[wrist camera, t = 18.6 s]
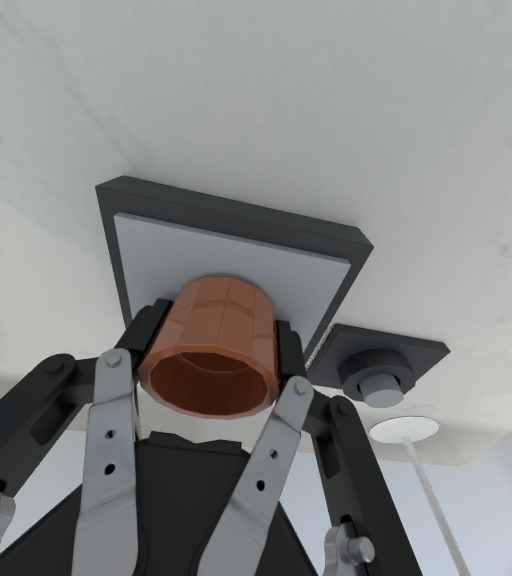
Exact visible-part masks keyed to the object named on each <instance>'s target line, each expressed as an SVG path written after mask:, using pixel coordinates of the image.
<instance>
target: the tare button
mask: <svg viewBox="0 0 512 576" xmlns="http://www.w3.org/2000/svg"><path fill="white" fill-rule="evenodd" d="M359 386H360V389H361V392H362V395H363V398H364V401H365V403H366V404H367V405H368V406H371V407H375V408H385V407H390V406H393V405H396V404H398V403H399V402H401V401H402V400H403V397H404V395H403V393H402V391H401V389H400V387H399V385H398V383H397V381H396V379H395V377H394V376H393V375H389V374H377V375H372V376H369V377H367V378H365V379H362V380H361V381H360V382H359Z"/></svg>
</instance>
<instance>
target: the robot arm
mask: <svg viewBox="0 0 512 576" xmlns="http://www.w3.org/2000/svg"><path fill="white" fill-rule="evenodd" d="M171 303H172V300H168V299H163V298H158V299H157V300H156V301H155V303H154V305H153V306H150V305H146V306H145V307H143V308H142V309H140V310H139V311H138V313H137V314H136V316H135V317H134V319H133V320H132V322H131V323H130V325H129V326H128V328H127V329H126V331H125V332H124V334H123V335H122V337H121V338H120V340H119V341H118V343H117V344H116V346H115V347H114V348H113V349H110V350H108V351H106V352H104V353H103V354H102V355H101V356H100V357H96V358H90V359H82V360H75V358H74V357H73V356H72V355H70V354H56V355H53V356H50V357H48V358H46V359H44V360H43V361H42V362H40V363H39V364H38V365H37V366H36V367H35V368H34V369H33V370H32V371H31V372H29V373H28V374H27V375H26V376H25V377H24V378H23V379H22V380H21V381H20V382H19V383H17V384H16V385H15V386H14V387H13V388H12V389H11V390H10V391H9V392H8V393H7V394H6V395H4V396H3V397H2V398H1V399H0V542H1V539H2V537H3V535H4V532H5V531H6V529H7V527H8V525H9V524H10V523H11V521H12V518H13V516H14V513H15V508H16V507H15V506H16V505H15V501H14V499H13V498H14V496H15V495H16V494H17V492H18V491H19V490H20V488H21V487H22V486H23V485H24V483H25V482H26V481H27V479H28V478H29V477H30V475H31V474H32V473H33V472H34V470H35V468H37V466H38V465H39V464H40V462H41V461H42V460H43V458H44V457H45V456H46V454H47V453H48V452H49V451H50V449H51V448H52V446H53V445H54V444H55V443H56V441H57V440H58V439H59V437H60V436H61V435H62V434H63V432H64V431H65V430H66V428H67V427H68V426H69V424H70V423H71V422H72V420H73V419H74V418H75V417H76V415H77V414H78V413H79V411H80V410H81V409H82V407H83V406H84V405H85V404H88V403H93V405H92V406H91V407H90V408H89V412H88V422H87V435H86V447H85V459H84V471H83V483H82V484H81V485H79V486H78V487H77V488H76V489H75V490H74V491H73V492H71V493H70V494H69V495H68V496H67V497H66V498H64V499H63V500H62V501H61V502H60V503H59V504H58V505H56V506H55V507H54V508H53V509H52V510H50V511H49V512H48V513H47V514H46V515H45V516H44V517H42V518H41V519H40V520H39V521H38V522H37V523H35V524H34V525H33V526H32V527H31V528H29V529H28V530H27V531H26V532H25V533H24V534H22V536H20V537H19V538H18V539H17V540H16V541H14V542H13V543H12V544H11V545H10V546H9V547H8V548H6V549H5V550H4V551H3V552H2V553H0V576H318V574H317V572H316V570H315V568H314V566H313V565H312V562H311V560H310V559H309V557H308V555H307V553H306V551H305V549H304V547H303V545H302V543H301V541H300V540H299V537H298V536H297V534H296V532H295V530H294V528H293V526H292V524H291V522H290V520H289V518H288V516H287V514H286V513H285V511H284V509H283V507H282V505H281V503H280V501H279V498H280V495H281V493H282V490H283V487H284V484H285V481H286V479H287V476H288V473H289V470H290V467H291V464H292V461H293V459H294V456H295V453H296V450H297V447H298V445H299V442H300V439H301V429H302V430H304V431H306V432H308V433H310V434H311V438H312V442H313V447H314V451H315V455H316V459H317V464H318V468H319V473H320V477H321V481H322V486H323V490H324V494H325V499H326V503H327V507H328V512H329V516H330V520H331V525H332V528H330V529H329V530H328V532H327V534H326V537H325V542H324V549H325V569H324V573H323V575H322V576H423V575H422V572H421V570H420V567H419V565H418V562H417V560H416V557H415V555H414V552H413V550H412V547H411V545H410V542H409V540H408V537H407V535H406V532H405V530H404V527H403V525H402V523H401V520H400V518H399V515H398V513H397V510H396V508H395V505H394V502H393V500H392V497H391V495H390V492H389V490H388V487H387V485H386V482H385V480H384V478H383V475H382V472H381V470H380V468H379V465H378V463H377V460H376V458H375V455H374V453H373V450H372V448H371V445H370V443H369V440H368V438H367V435H366V433H365V430H364V428H363V425H362V423H361V420H360V418H359V415H358V413H357V410H356V408H355V406H354V405H353V403H352V402H351V401H350V400H348V399H347V398H346V397H343V396H340V395H336V396H334V397H332V398H330V397H328V396H326V395H324V394H322V393H320V392H318V391H316V390H315V389H314V388H313V387H312V385H311V383H310V382H309V381H308V379H307V375H306V368H305V362H304V355H303V349H302V342H301V338H300V336H299V334H298V333H297V331H292V330H291V326H290V322H289V321H285V320H279V319H277V339H278V361H279V383H280V391H279V393H278V395H277V397H276V404H275V406H274V408H273V410H272V412H271V414H270V416H269V418H268V420H267V422H266V424H265V426H264V428H263V430H262V432H261V434H260V436H259V438H258V440H257V441H256V443H255V445H254V447H253V449H252V452H251V453H248V452H247V451H245V450H243V449H241V445H242V442H236V441H228V440H215V441H209V442H203V443H193V442H191V441H189V440H187V439H184V438H182V437H180V436H178V435H176V434H172V433H164V432H156V431H151V434H150V436H149V438H144V439H142V433H141V426H140V416H139V402H138V387H137V384H138V382H139V375H138V367H139V365H140V363H141V361H142V359H143V357H144V355H145V353H146V351H147V350H148V348H149V346H150V344H151V342H152V340H153V338H154V336H155V334H156V332H157V330H158V329H159V326H160V325H161V323H162V321H163V319H164V317H165V315H166V313H167V311H168V309H169V307H170V305H171Z"/></svg>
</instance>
